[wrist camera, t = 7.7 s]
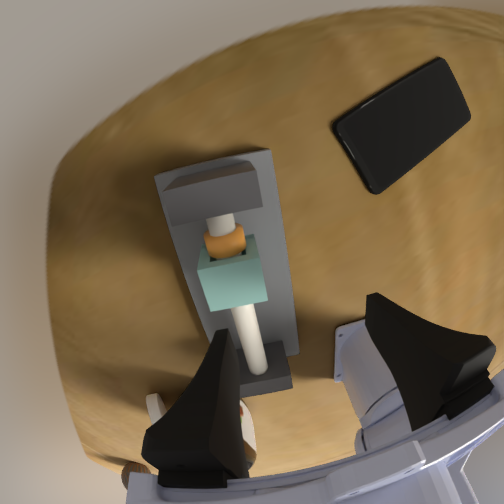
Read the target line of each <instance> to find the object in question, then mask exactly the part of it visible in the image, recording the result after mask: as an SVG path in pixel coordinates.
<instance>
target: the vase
mask: <svg viewBox="0 0 504 504" xmlns="http://www.w3.org/2000/svg"><path fill="white" fill-rule="evenodd" d="M130 472H140V473H149V474H151V472H150V470H149V469H148V468H147V467H146V466H145V465H142V464H139V463H134V462H131V463H128V464H127V465H125V467H124V468H123V470H122V474H121V478H122V482H123V484H124V486H125V488H126V489H127V490H128V482H129V475H130Z"/></svg>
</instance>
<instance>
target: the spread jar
mask: <svg viewBox="0 0 504 504" xmlns="http://www.w3.org/2000/svg"><path fill="white" fill-rule="evenodd" d="M146 404H147V409H148V413H149V416H150V419H151V422H152V425H153V424H154V423H155V422H157V421H158V420H159V419H160V418H161V417H162V416H163V415H164V414H165V413H166V412H167V410H166V408H165V405H164V403H163V401H162V399H161V397H160V395H159V394H158V393H154V394H150V395H147V396H146ZM240 418H241V427H242V435H243V442H244V449H245V455H246V461H247V466H248V470H249V469H250V468H251V467H252V466H253V464H254V463H255V460H256V442H255V434H254V426H253V421H252V418H251V414H250V412H249V410H248V408H247V406H246V404H245V402H244V401H243V399H242V398H240Z"/></svg>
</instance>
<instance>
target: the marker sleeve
mask: <svg viewBox="0 0 504 504" xmlns="http://www.w3.org/2000/svg"><path fill="white" fill-rule="evenodd" d="M245 240H246V248H245V249H244V250H243V251H242V256H237V257H232V258H228V259H223V260H218V261H217V259H216V258H213V257H210V256H209V254H208V251H207V247H206V244H203V245H202V246H201V251H200V256H199V262H198V267H197V272H198V276H199V279H200V282H201V285H202V288H203V291H204V294H205V297H206V300H207V303H208V305H209V308H210V311H211V312H212V311H218V310H223V309H228V308H234V307H239V306H244V305H249V304H254V303H259V302H264V301H268V297H267V292H266V287H265V282H264V277H263V271H262V266H261V261H260V256H259V252H258V248H257V245H256V241H255V237H254V234H250V235H245Z"/></svg>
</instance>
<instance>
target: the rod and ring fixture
mask: <svg viewBox="0 0 504 504" xmlns="http://www.w3.org/2000/svg"><path fill="white" fill-rule="evenodd" d="M154 179H155V183H156V186H157V190H158V194H159V197H160V201H161V204H162V208H163V211H164V214H165V218H166V221H167V224H168V228H169V231H170V234H171V237H172V240H173V243H174V246H175V250H176V253H177V256H178V259H179V262H180V265H181V267H182V270H183V273H184V276H185V279H186V282H187V285H188V287H189V290H190V293H191V296H192V298H193V301H194V304H195V307H196V309H197V312H198V314H199V317H200V320H201V322H202V325H203V327H204V330H205V332H206V335H207V337H208V340H209V342H210V344H211V341H212V339H213V336H214V333H215V331H216V330H220V329H226V328H228V329H229V332H230V335H231V338H232V340H233V343H234V346H235V349H236V352H237V355H238V361H239V370H240V398H244V397H250V396H256V395H262V394H267V393H272V392H277V391H282V390H287V389H292V388H293V385H292V378H291V373H290V369H289V365H288V361H287V357H289V356H293V355H298V354H300V351H299V341H298V332H297V324H296V315H295V307H294V299H293V291H292V283H291V276H290V268H289V261H288V254H287V247H286V240H285V234H284V227H283V220H282V214H281V208H280V201H279V195H278V189H277V183H276V177H275V171H274V166H273V160H272V154H271V150H270V149H263V150H257V151H252V152H247V153H242V154H237V155H232V156H227V157H222V158H218V159H213V160H209V161H205V162H201V163H196V164H192V165H188V166H185V167H181V168H177V169H173V170H169V171H166V172H162V173H159V174H157V175H155V176H154ZM250 234H254V237H255V241H256V245H257V248H258V252H259V256H260V261H261V266H262V271H263V277H264V282H265V287H266V292H267V297H268V301H264V302H259V303H254V304H249V305H244V306H239V307H234V308H228V309H223V310H218V311H212V312H211V311H210V308H209V305H208V303H207V300H206V297H205V294H204V291H203V288H202V285H201V282H200V279H199V276H198V272H197V267H198V262H199V256H200V251H201V246H202V245H203V244H206V247H207V251H208V254H209V256H210V257H213V258H216V259H217V261H218V260H223V259H228V258H232V257H237V256H242V251H243V250H244V249H245V248H246V240H245V235H250Z"/></svg>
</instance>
